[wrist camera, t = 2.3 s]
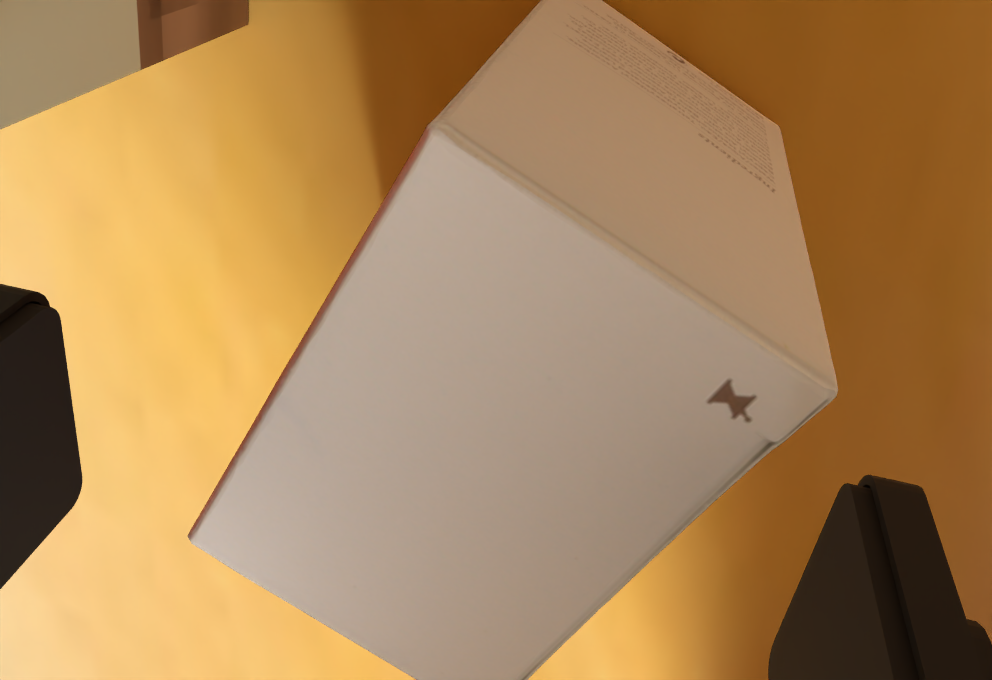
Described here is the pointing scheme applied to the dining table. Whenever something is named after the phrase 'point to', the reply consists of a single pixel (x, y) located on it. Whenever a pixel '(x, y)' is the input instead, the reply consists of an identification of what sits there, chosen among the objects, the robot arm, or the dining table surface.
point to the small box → (533, 358)
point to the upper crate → (62, 51)
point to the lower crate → (184, 25)
